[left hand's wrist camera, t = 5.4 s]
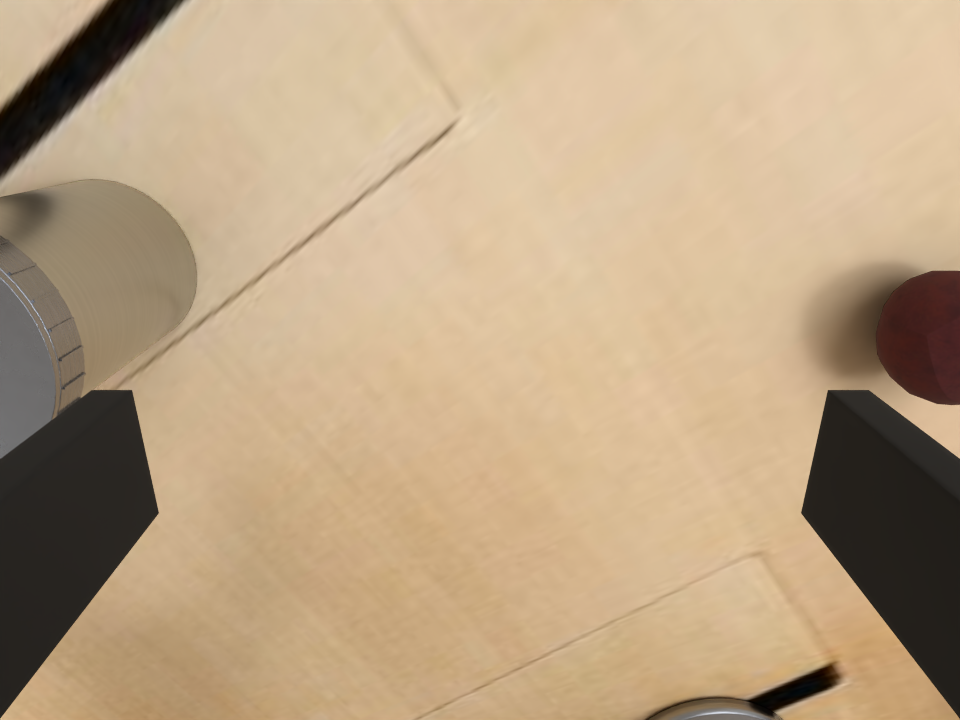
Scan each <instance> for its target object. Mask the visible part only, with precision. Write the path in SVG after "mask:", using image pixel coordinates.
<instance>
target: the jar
mask: <svg viewBox="0 0 960 720" xmlns="http://www.w3.org/2000/svg"><path fill="white" fill-rule="evenodd" d="M0 235H1V236H2V237H4V238H5V239H8V240H10V242H11V243H13V244H14V245H15V246H16V247H17V248H19V249H20V250H21V251H22V252H23V253H25V254H26V255H27V256H28V257H29V258H30V259H31V260H32V261H33V262H35V263H36V264H37V266H38V267H39V268H40V269H41V270H42V271H43V272H44V273H45V274H46V276H47V277H48V278H49V279H50V281H51V282H52V283H53V284H54V286H55V287H56V288H57V289H58V290H59V293H60V295H61V296H62V298H63V299H64V301H65V303H66V304H67V306H68V308H69V310H70V312H71V314H72V316H73V317H74V321H75V323H76V326H77V329H78V332H79V335H80V338H81V342H82V345H83V347H84V348H83V352H84V360H85V373H86V375H85V377H84V387H83V391H82V395H81V398H82V397H83V396H84V395H86V394H87V393H88V392H90V391H91V390H93V389H95V388H96V387H97V386H99V385H100V384H101V383H103V382H104V381H105V380H107V379H108V378H109V377H111V376H112V375H113V374H114V373H116V372H117V371H118V370H120V369H121V368H122V367H124V366H125V365H126V364H128V363H129V362H130V361H132V360H133V359H134V358H136V357H137V356H138V355H140V354H141V353H142V352H144V351H145V350H146V349H148V348H149V347H150V346H152V345H153V344H154V343H156V342H157V341H158V340H159V339H161V338H162V337H163V336H165V335H166V334H167V333H169V332H170V331H171V330H173V329H174V328H175V327H176V326H177V325H178V324H179V323H180V322H181V321H182V320H183V319H184V317H185V316H186V315H187V313H188V311H189V309H190V307H191V305H192V303H193V300H194V296H195V292H196V285H197V272H196V264H195V260H194V256H193V252H192V250H191V247H190V245H189V242H188V240H187V238H186V236H185V235H184V233H183V231H182V230H181V228H180V227H179V225H178V224H177V222H176V221H175V220H174V219H173V218H172V216H171V215H170V214H169V213H168V212H167V211H166V210H165V209H164V208H163V207H162V206H160V205H159V204H158V203H157V202H155V201H154V200H153V199H151V198H150V197H149V196H147V195H145V194H143V193H142V192H140V191H138V190H136V189H134V188H131V187H129V186H127V185H123V184H120V183H117V182H112V181H107V180H93V179H91V180H81V181H76V182H71V183H66V184H61V185H57V186H52V187H47V188H42V189H37V190H33V191H28V192H23V193H18V194H13V195H9V196H4V197H0Z"/></svg>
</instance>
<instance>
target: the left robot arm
mask: <svg viewBox="0 0 960 720" xmlns="http://www.w3.org/2000/svg"><path fill="white" fill-rule="evenodd" d="M158 513H159V512H158V507H157V503H156V498H155V494H154V489H153V484H152V480H151V475H150V471H149V466H148V461H147V457H146V452H145V448H144V443H143V439H142V434H141V429H140V425H139V420H138V416H137V411H136V406H135V402H134V397H133V393H132V390H91V391H90V392H88V393H87V394H86V395H84V396H83V397H82V398H80V399H79V400H78V401H76V402H75V403H74V404H72V405H71V406H70V407H68V408H67V409H66V410H64V411H63V412H62V413H60V414H59V415H58V416H57V417H55V418H54V419H53V420H51V421H50V422H49V423H47V424H46V425H45V426H43V427H42V428H41V429H39V430H38V431H37V432H35V433H34V434H33V435H31V436H30V437H29V438H27V439H26V440H25V441H23V442H22V443H21V444H19V445H18V446H17V447H15V448H14V449H13V450H11V451H10V452H9V453H7V454H6V455H5V456H3V457H2V458H1V459H0V718H1V717H2V715H3V714H4V713H5V712H6V710H7V709H8V708H9V706H10V705H11V704H12V703H13V701H14V700H15V699H16V697H17V696H18V695H19V693H20V692H21V691H22V690H23V688H24V687H25V686H26V684H27V683H28V682H29V680H30V679H31V678H32V677H33V675H34V674H35V673H36V671H37V670H38V669H39V668H40V666H41V665H42V664H43V662H44V661H45V660H46V658H47V657H48V656H49V655H50V653H51V652H52V651H53V649H54V648H55V647H56V646H57V644H58V643H59V642H60V640H61V639H62V638H63V636H64V635H65V634H66V633H67V631H68V630H69V629H70V627H71V626H72V625H73V624H74V622H75V621H76V620H77V618H78V617H79V616H80V614H81V613H82V612H83V611H84V609H85V608H86V607H87V605H88V604H89V603H90V602H91V600H92V599H93V598H94V596H95V595H96V594H97V592H98V591H99V590H100V589H101V587H102V586H103V585H104V583H105V582H106V581H107V580H108V578H109V577H110V576H111V574H112V573H113V572H114V570H115V569H116V568H117V567H118V565H119V564H120V563H121V561H122V560H123V559H124V557H125V556H126V555H127V554H128V552H129V551H130V550H131V548H132V547H133V546H134V545H135V543H136V542H137V541H138V539H139V538H140V537H141V535H142V534H143V533H144V532H145V530H146V529H147V528H148V526H149V525H150V524H151V523H152V521H153V520H154V519H155V517H156V516H157V515H158ZM801 513H802V515H803V516H804V517H805V519H806V520H807V521H808V523H809V524H810V525H811V526H812V528H813V529H814V530H815V532H816V533H817V534H818V535H819V537H820V538H821V539H822V541H823V542H824V543H825V545H826V546H827V547H828V548H829V550H830V551H831V552H832V554H833V555H834V556H835V557H836V559H837V560H838V561H839V563H840V564H841V565H842V567H843V568H844V569H845V570H846V572H847V573H848V574H849V576H850V577H851V578H852V580H853V581H854V582H855V583H856V585H857V586H858V587H859V589H860V590H861V591H862V592H863V594H864V595H865V596H866V598H867V599H868V600H869V602H870V603H871V604H872V605H873V607H874V608H875V609H876V611H877V612H878V613H879V614H880V616H881V617H882V618H883V620H884V621H885V622H886V624H887V625H888V626H889V627H890V629H891V630H892V631H893V633H894V634H895V635H896V636H897V638H898V639H899V640H900V642H901V643H902V644H903V646H904V647H905V648H906V649H907V651H908V652H909V653H910V655H911V656H912V657H913V658H914V660H915V661H916V662H917V664H918V665H919V666H920V668H921V669H922V670H923V671H924V673H925V674H926V675H927V677H928V678H929V679H930V680H931V682H932V683H933V684H934V686H935V687H936V688H937V690H938V691H939V692H940V693H941V695H942V696H943V697H944V699H945V700H946V701H947V703H948V704H949V705H950V706H951V708H952V709H953V710H954V712H955V713H956V714H957V715H958V717H959V718H960V459H959V458H958V457H957V456H955V455H954V454H953V453H951V452H950V451H949V450H947V449H946V448H945V447H943V446H942V445H941V444H939V443H938V442H937V441H935V440H934V439H933V438H931V437H930V436H929V435H927V434H926V433H925V432H923V431H922V430H921V429H919V428H918V427H917V426H915V425H914V424H913V423H911V422H910V421H909V420H907V419H906V418H905V417H903V416H902V415H901V414H900V413H898V412H897V411H896V410H894V409H893V408H892V407H890V406H889V405H888V404H886V403H885V402H884V401H882V400H881V399H880V398H878V397H877V396H876V395H874V394H873V393H872V392H870V391H869V390H828V393H827V397H826V402H825V406H824V411H823V416H822V420H821V425H820V429H819V434H818V439H817V443H816V448H815V452H814V457H813V461H812V466H811V471H810V475H809V480H808V484H807V489H806V494H805V498H804V503H803V507H802V512H801Z"/></svg>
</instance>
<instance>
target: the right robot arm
mask: <svg viewBox="0 0 960 720" xmlns="http://www.w3.org/2000/svg"><path fill="white" fill-rule="evenodd" d="M649 720H783V719H782V718H781V717H779V716H778V715H777V714H775V713H774V712H772V711H771V710H769V709H767V708H765V707H762V706H760V705H757V704H754V703H751V702H747V701H742V700H736V699H724V698H716V699H703V700H696V701H691V702H687V703H683V704H680V705H677V706H674V707H672V708H669V709H667V710H665V711H663V712H660V713H659V714H657V715H655V716H653V717H652V718H650V719H649Z"/></svg>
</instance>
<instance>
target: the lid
mask: <svg viewBox="0 0 960 720" xmlns="http://www.w3.org/2000/svg"><path fill="white" fill-rule="evenodd" d="M83 348H84V347H83V345H82V342H81V338H80V335H79V332H78V329H77V326H76V323H75V321H74V317H73V316H72V314H71V312H70V310H69V308H68V306H67V304H66V303H65V301H64V299H63V298H62V296H61V295H60V293H59V290H58V289H57V288H56V287H55V286H54V284H53V283H52V282H51V281H50V279H49V278H48V277H47V276H46V274H45V273H44V272H43V271H42V270H41V269H40V268H39V267H38V266H37V264H36V263H35V262H33V261H32V260H31V259H30V258H29V257H28V256H27V255H26V254H25V253H23V252H22V251H21V250H20V249H19V248H17V247H16V246H15V245H14V244H13V243H11V242H10V240H8V239H5V238H4V237H2V236H1V235H0V459H1V458H2V457H3V456H5V455H6V454H7V453H9V452H10V451H11V450H13V449H14V448H15V447H17V446H18V445H19V444H21V443H22V442H23V441H25V440H26V439H27V438H29V437H30V436H31V435H33V434H34V433H35V432H37V431H38V430H39V429H41V428H42V427H43V426H45V425H46V424H47V423H49V422H50V421H51V420H53V419H54V418H55V417H57V416H58V415H59V414H60V413H62V412H63V411H64V410H66V409H67V408H68V407H70V406H71V405H72V404H74V403H75V402H76V401H78V400H79V399H80V398H81V395H82V391H83V387H84V377H85V375H86V373H85V360H84V352H83Z"/></svg>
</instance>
